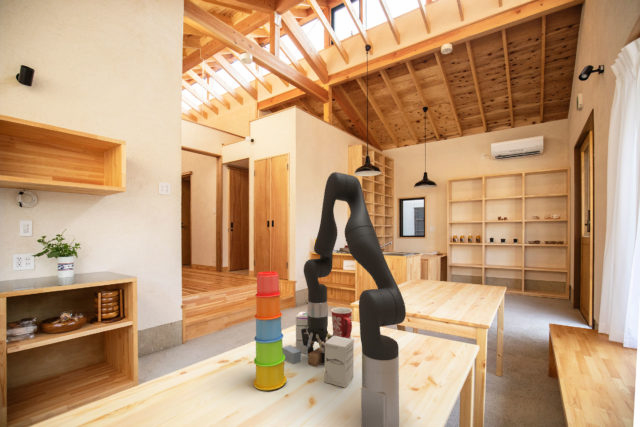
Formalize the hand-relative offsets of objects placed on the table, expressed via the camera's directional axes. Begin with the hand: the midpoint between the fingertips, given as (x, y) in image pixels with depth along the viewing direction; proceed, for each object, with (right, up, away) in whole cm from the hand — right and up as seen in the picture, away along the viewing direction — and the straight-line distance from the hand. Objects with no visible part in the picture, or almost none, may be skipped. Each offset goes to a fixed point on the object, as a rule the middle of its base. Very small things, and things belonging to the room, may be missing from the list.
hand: (317, 360), depth 106 cm
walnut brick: (0, -1, 0) cm, 1 cm away
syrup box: (-5, -1, +10) cm, 11 cm away
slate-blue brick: (-10, -1, +2) cm, 10 cm away
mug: (+11, -2, +17) cm, 20 cm away
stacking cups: (-15, 0, -14) cm, 20 cm away
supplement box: (+7, 0, -12) cm, 14 cm away
